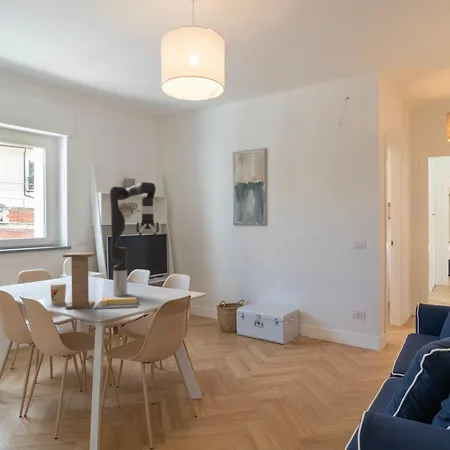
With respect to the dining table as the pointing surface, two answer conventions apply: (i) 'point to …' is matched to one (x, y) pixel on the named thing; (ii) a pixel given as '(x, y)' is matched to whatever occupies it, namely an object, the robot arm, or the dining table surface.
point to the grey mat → (117, 306)
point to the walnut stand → (80, 281)
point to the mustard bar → (117, 301)
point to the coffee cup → (58, 293)
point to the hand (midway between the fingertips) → (147, 238)
